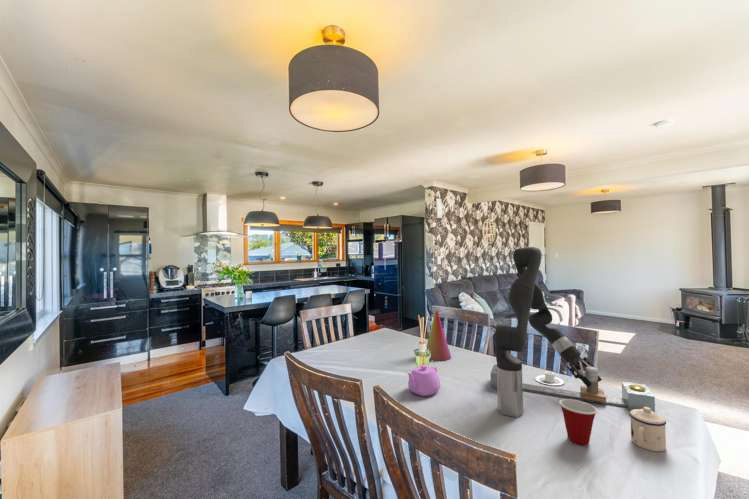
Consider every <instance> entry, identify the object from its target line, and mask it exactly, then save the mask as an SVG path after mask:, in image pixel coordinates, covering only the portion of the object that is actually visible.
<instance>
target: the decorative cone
mask: <svg viewBox="0 0 749 499" xmlns="http://www.w3.org/2000/svg"><path fill="white" fill-rule="evenodd" d="M426 347H427V349H429V350H430V351H431V357H430V360H433V361H432V362H439V361H440V362H447V360H448V361H450V360H452V355H451V351H450V349H449V344H448V342H447V338H446V336H445V331H444V328H443V325H442V321H441V318H440V314H439V311H438V308H437V306H436V307H435V311H434V315H433V319H432V323H431V327H430V331H429V335H428V340H427V344H426ZM430 360H429V361H430Z"/></svg>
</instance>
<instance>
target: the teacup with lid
mask: <svg viewBox="0 0 749 499" xmlns="http://www.w3.org/2000/svg"><path fill="white" fill-rule="evenodd" d="M629 416H630V439H631V441H632V442H633V443H634V445H636V446H638V447H640V448H642V449H644V450H646V451H651V452H664V451H666V450H667V448H666V447H667V446H666V443H667V442H666V441H667V438H666V424H667V421H666V419H665V418H664V416H662V415H660V414H658V413H656V412H655V413H654V412H653V411H651V409H650V408H649V407H643V409H634V410H632V411H629Z"/></svg>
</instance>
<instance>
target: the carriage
mask: <svg viewBox="0 0 749 499" xmlns="http://www.w3.org/2000/svg"><path fill="white" fill-rule="evenodd" d="M595 367H596V366H595ZM595 367H592V366H591V367H586V371H585V373H586V377H587V379H588V380H589V381H590V382H591V383H592V385H591V386H589V387H587V386H586V385H580V392H581V394H582V398H583V399H588V400H594V401H601V402H606V396H607V395H606V394H605V391H604V389H603V388H599V382H598V375H599V368H597V367H596V368H595Z"/></svg>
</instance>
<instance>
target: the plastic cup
mask: <svg viewBox="0 0 749 499" xmlns="http://www.w3.org/2000/svg"><path fill="white" fill-rule="evenodd" d="M558 402H559V405H560V408H561V411H562V416H563V421H564V425H565V430H566V435H567V438H568V441H569V442H570V443H572V444H574V445H577V446H580V447H586V446H588V445H589V443H590V439H591V435H592V431H593V430H592V429H593V425H594V420H595V416H596V414H597V413H598V408H597V407H595V406H593V404H590V403H587V402H585V401H583V400H578V399H571V398H562V399H560V400H558Z"/></svg>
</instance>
